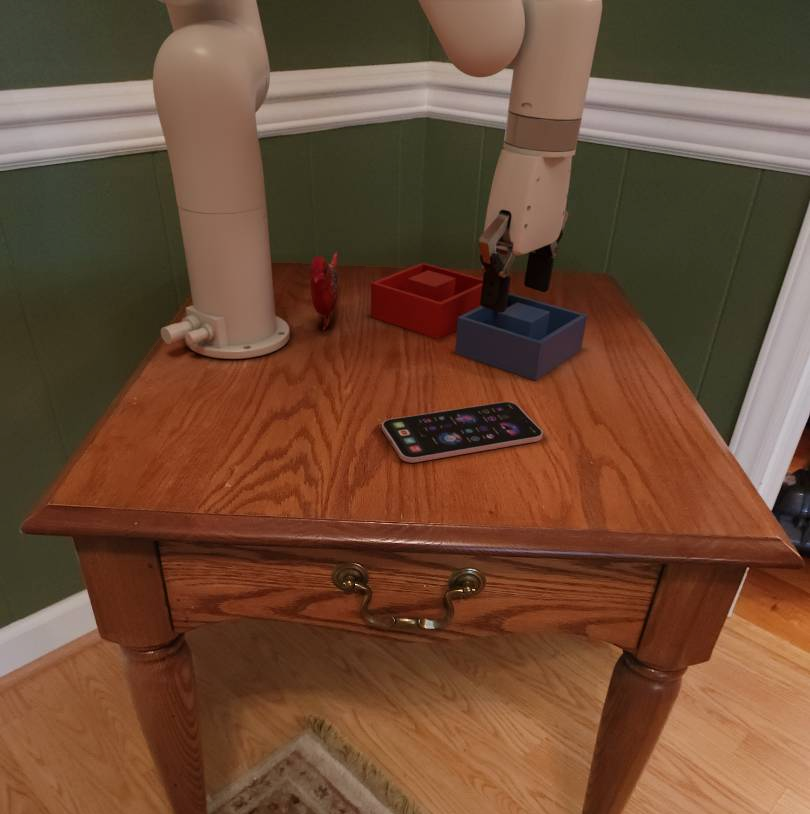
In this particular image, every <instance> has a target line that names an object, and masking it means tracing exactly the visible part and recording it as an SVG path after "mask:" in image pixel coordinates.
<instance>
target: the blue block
mask: <svg viewBox="0 0 810 814" xmlns="http://www.w3.org/2000/svg"><path fill="white" fill-rule="evenodd" d="M549 314H550V312H549V311H546V310H542V309H539V308H535V307H532V306H528V305H525V304H521V303H518V302H517V303H515V304H513V305H512V306H510V307H508V308H506V311H504V312H502V313H500V312H498V317H497V326H496V327H497V328H501V329H504V330H507V331H510V332H513V333H517V334H520V335H523V336H526V337H530V338H533V339H536V340H539V341H540V340H541V339H543V338H544V337H546V333H547V327H548V320H549Z"/></svg>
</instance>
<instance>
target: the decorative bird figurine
mask: <svg viewBox="0 0 810 814" xmlns="http://www.w3.org/2000/svg"><path fill="white" fill-rule="evenodd" d="M338 255H339V251H338V250H335V251H334V253H333V256H332V259H331V261H330V263H329V262H328V260H327V259H326V258H325V257H323V256H320V255H316V256H314V257H313V258H312V261H311V264H310V269H309V281H310V282H309V283H310V296H311V303H312V305H313V308H314V310H315V311H316V312H317V313H318V314H319V315H321V316H324V322H323V324H322V326H323V329H322V332H324V331H325V330H326V329H327V328H328V327H329V324H330V320H331V319H330V317H331V314H332V313H333V311H334V310H335V308H336V305H337V301H338V296H339V273H338V270H337V266H338Z"/></svg>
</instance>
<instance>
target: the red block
mask: <svg viewBox="0 0 810 814" xmlns="http://www.w3.org/2000/svg"><path fill="white" fill-rule="evenodd" d="M455 280H456V278H454V277H450V276H447V275H443V274H439V273H436V272H432V271H429V270H428V271H425V272H423V273H420V274H418V275H415V276H413V277H410V278H408V279H407V292H409V293H412V294H415V295H418V296H422V297H425V298H428V299H431V300H435V301H438V302H442V301H444V300H446V299H448V298H450V297H453V296H454V294H455Z"/></svg>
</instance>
